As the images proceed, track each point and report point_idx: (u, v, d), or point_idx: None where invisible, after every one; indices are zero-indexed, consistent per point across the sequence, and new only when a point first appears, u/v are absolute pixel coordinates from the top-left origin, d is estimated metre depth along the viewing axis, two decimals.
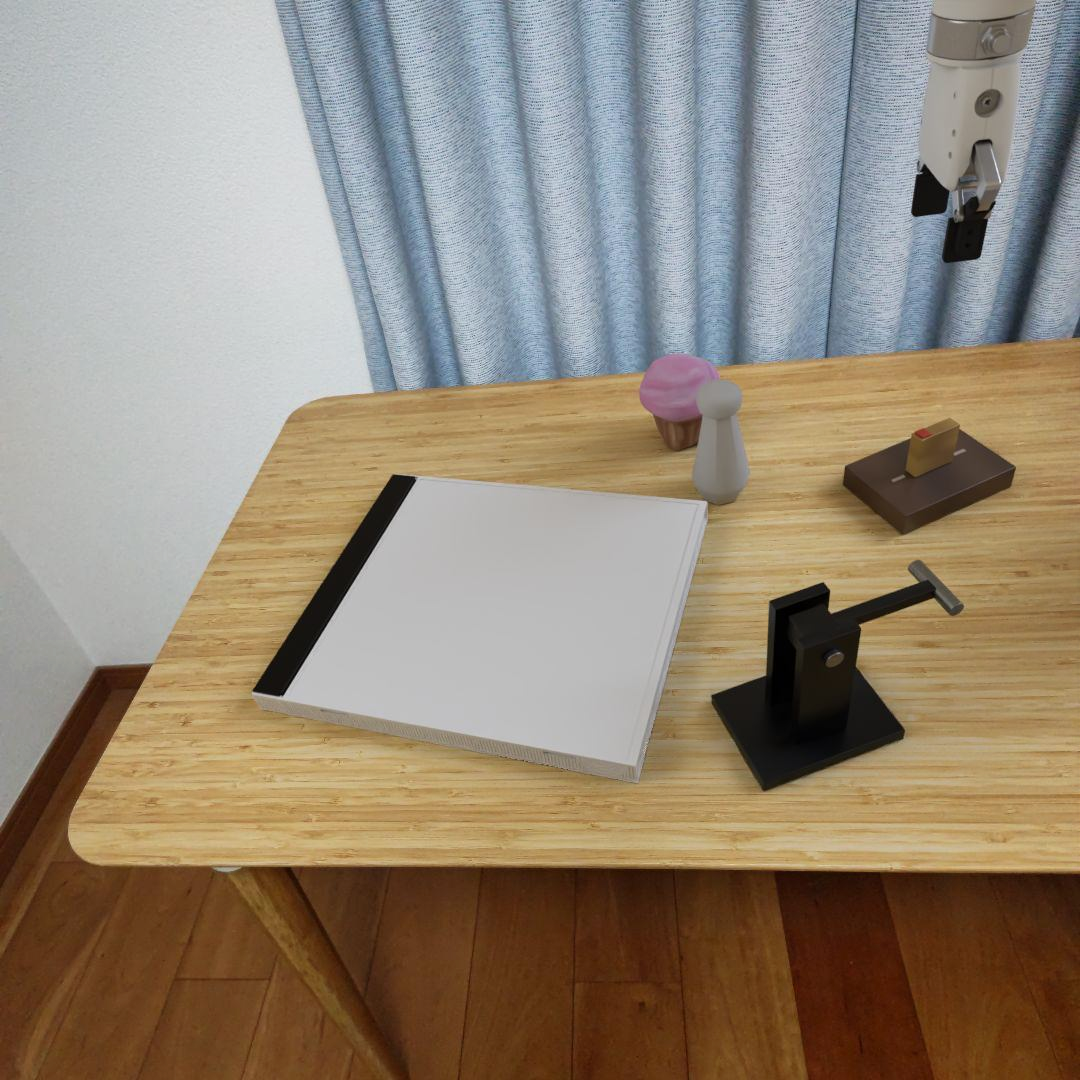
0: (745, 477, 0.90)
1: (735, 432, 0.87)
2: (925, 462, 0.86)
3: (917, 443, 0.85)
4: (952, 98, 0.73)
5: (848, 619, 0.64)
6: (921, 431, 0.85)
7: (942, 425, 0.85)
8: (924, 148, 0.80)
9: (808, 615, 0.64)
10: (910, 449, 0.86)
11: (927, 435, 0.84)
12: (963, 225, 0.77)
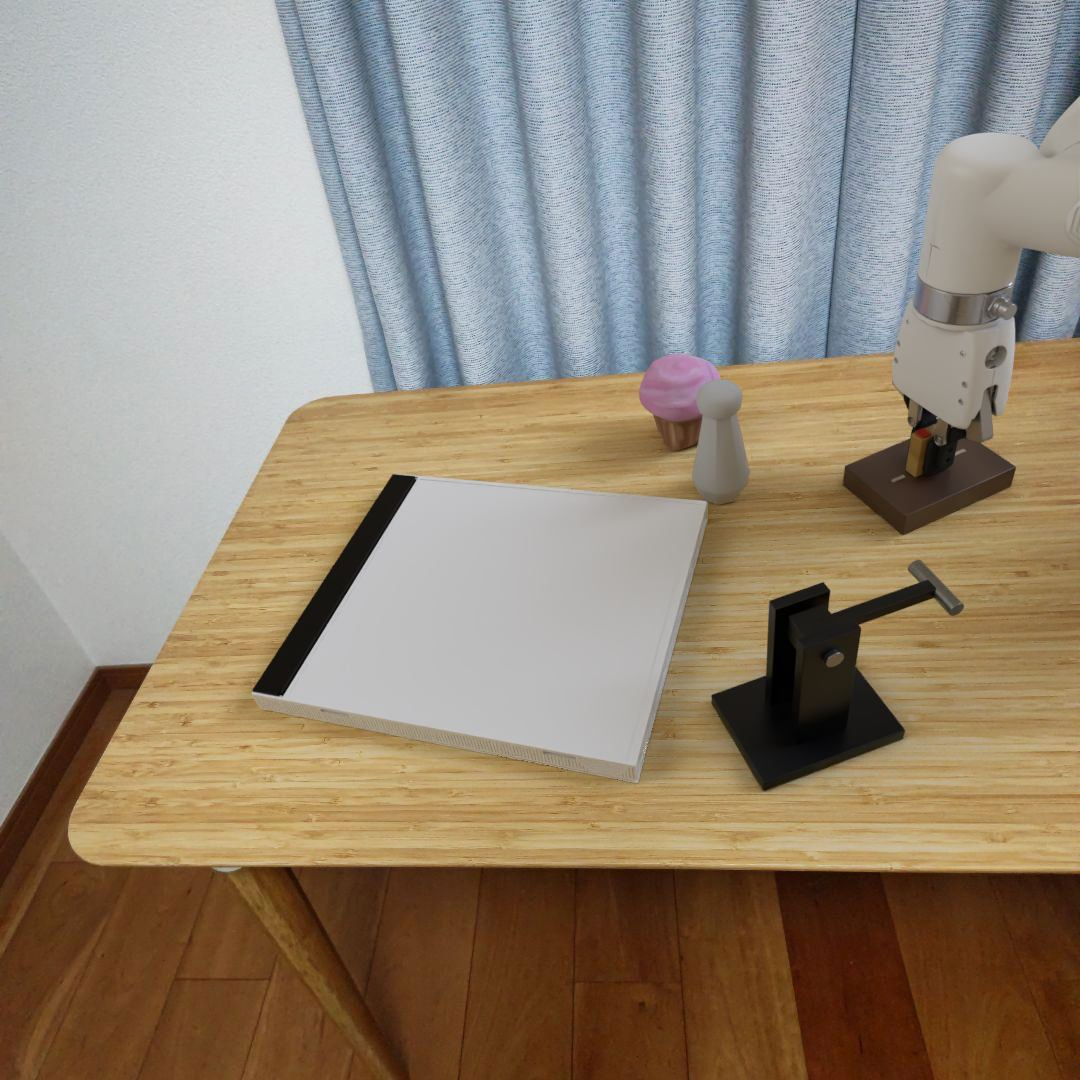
0: (745, 477, 0.90)
1: (735, 432, 0.87)
2: None
3: (917, 443, 0.85)
4: (958, 355, 0.75)
5: (848, 619, 0.64)
6: (921, 431, 0.85)
7: None
8: (908, 385, 0.83)
9: (808, 615, 0.64)
10: (910, 449, 0.86)
11: (927, 435, 0.84)
12: (944, 446, 0.84)
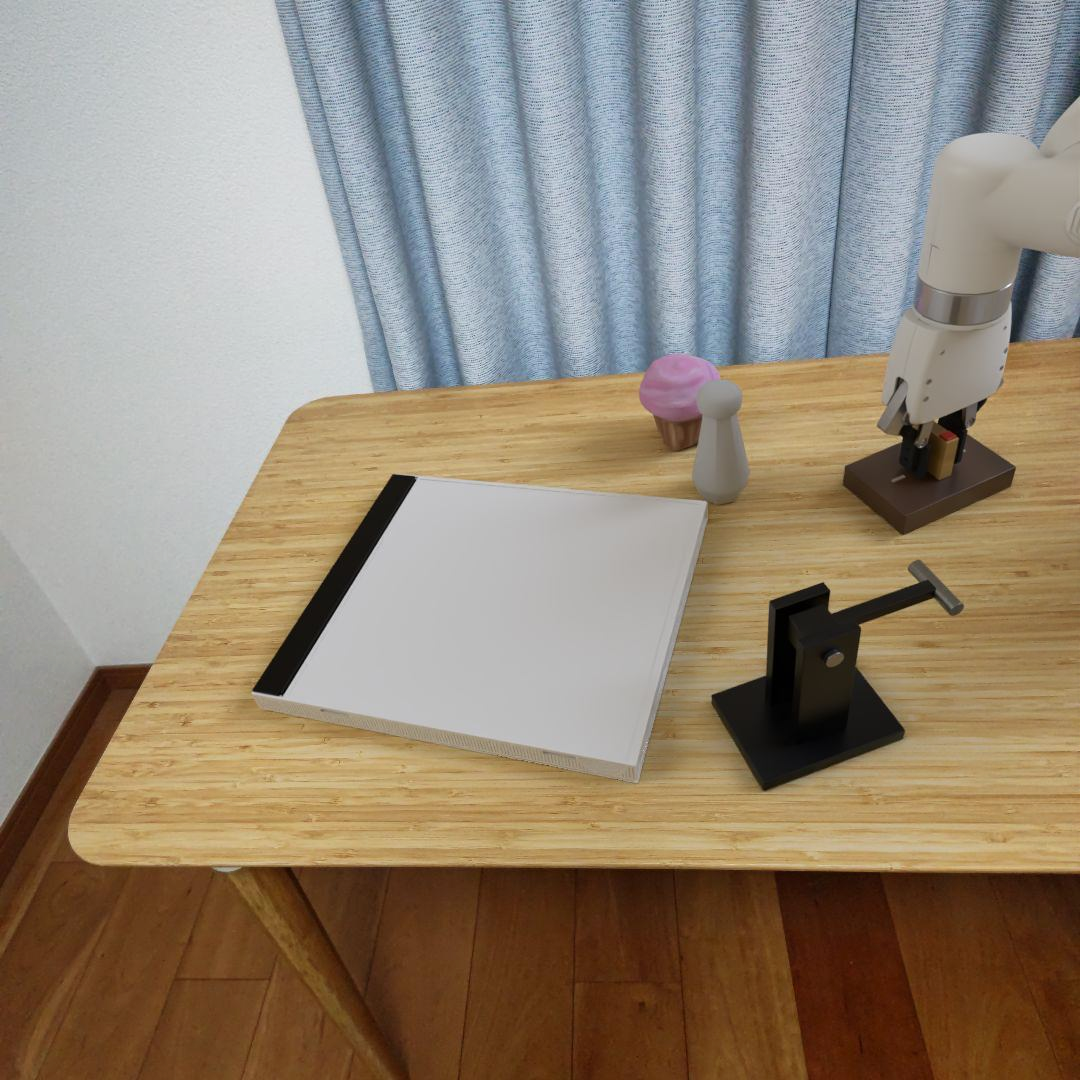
0: (745, 477, 0.90)
1: (735, 432, 0.87)
2: None
3: (954, 445, 0.84)
4: (1002, 331, 0.77)
5: (848, 619, 0.64)
6: (946, 435, 0.84)
7: None
8: (941, 407, 0.80)
9: (808, 615, 0.64)
10: (945, 457, 0.85)
11: (951, 433, 0.84)
12: None
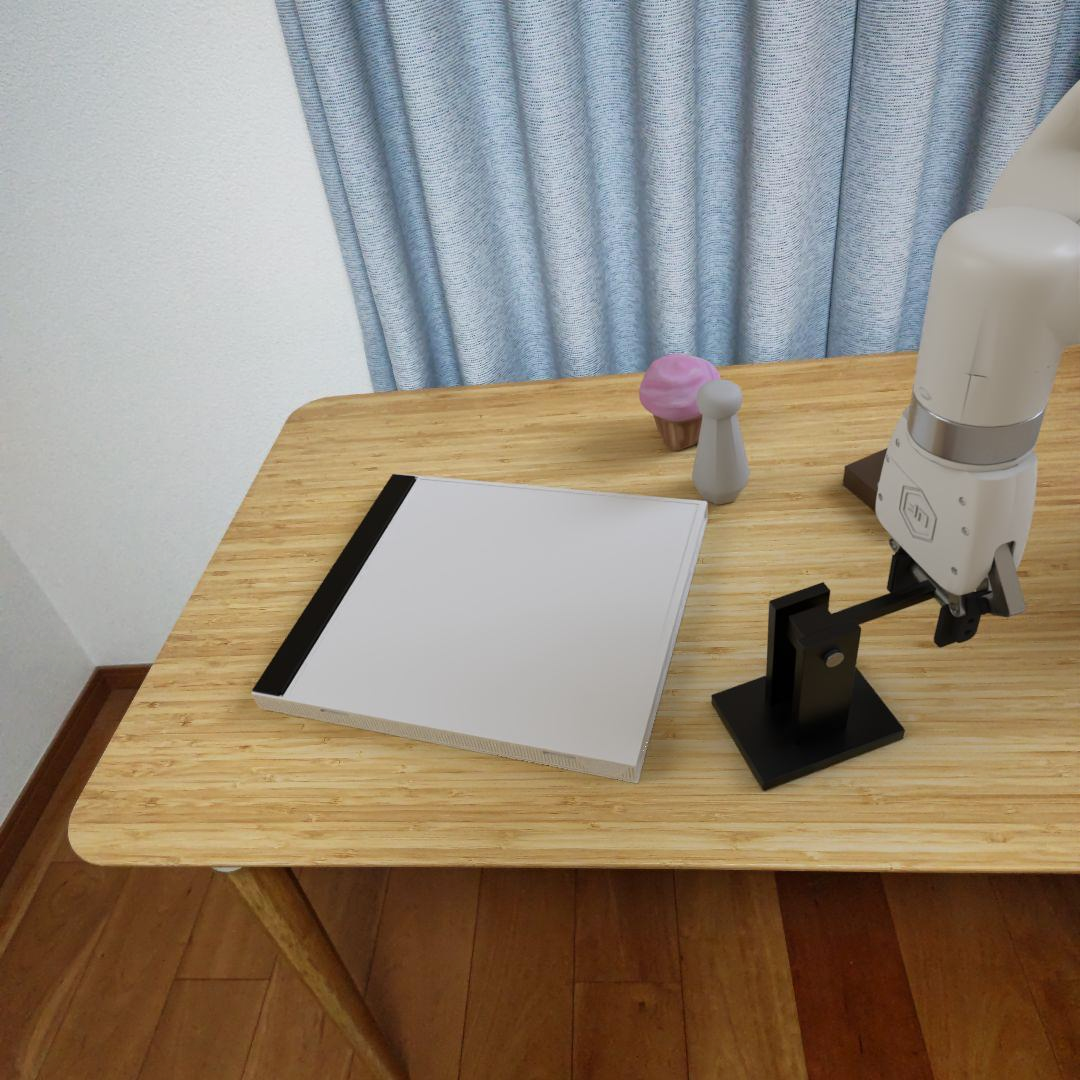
0: (745, 477, 0.90)
1: (735, 432, 0.87)
2: None
3: None
4: None
5: (848, 619, 0.64)
6: None
7: None
8: None
9: (808, 615, 0.64)
10: None
11: None
12: None
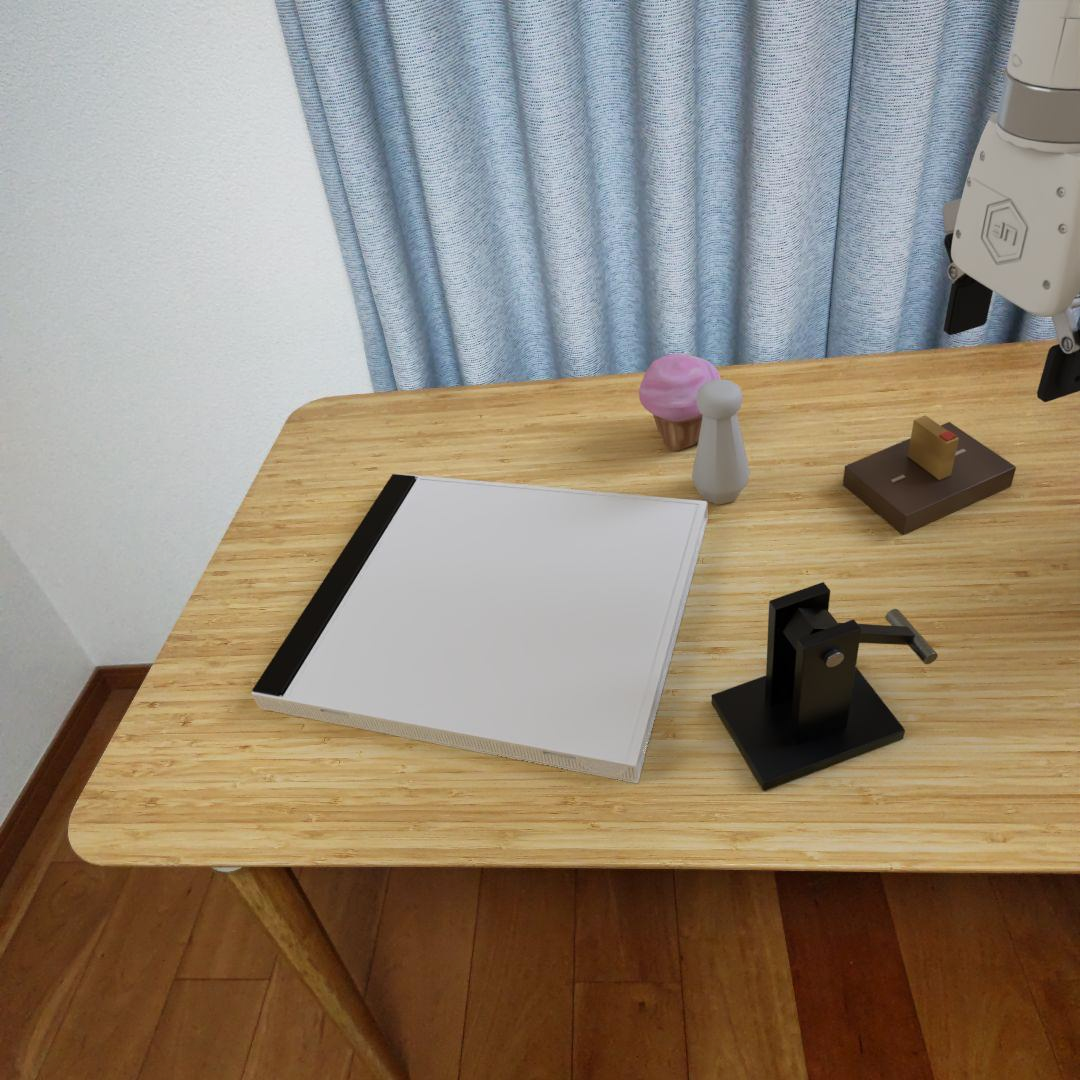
0: (745, 477, 0.90)
1: (735, 432, 0.87)
2: None
3: (954, 445, 0.84)
4: None
5: None
6: (946, 435, 0.84)
7: (928, 425, 0.86)
8: None
9: (815, 613, 0.64)
10: (945, 457, 0.85)
11: (951, 433, 0.84)
12: None
